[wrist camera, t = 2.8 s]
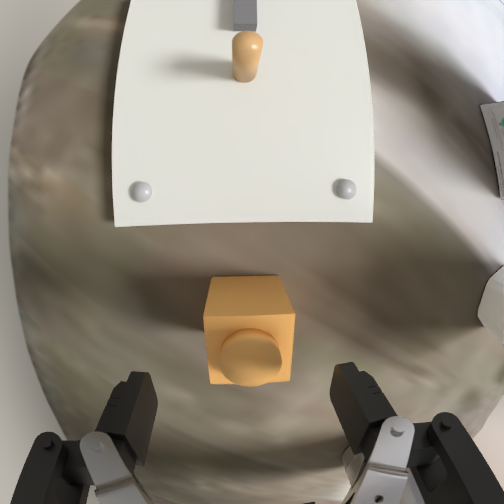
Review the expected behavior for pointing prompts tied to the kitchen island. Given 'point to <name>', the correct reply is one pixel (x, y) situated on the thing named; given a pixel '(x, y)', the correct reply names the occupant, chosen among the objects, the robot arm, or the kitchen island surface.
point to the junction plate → (242, 113)
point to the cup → (493, 306)
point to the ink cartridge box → (496, 137)
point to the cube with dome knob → (248, 330)
